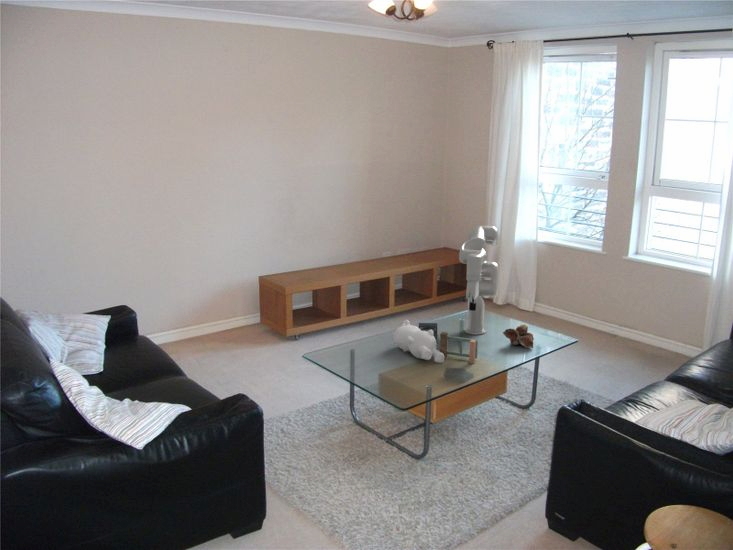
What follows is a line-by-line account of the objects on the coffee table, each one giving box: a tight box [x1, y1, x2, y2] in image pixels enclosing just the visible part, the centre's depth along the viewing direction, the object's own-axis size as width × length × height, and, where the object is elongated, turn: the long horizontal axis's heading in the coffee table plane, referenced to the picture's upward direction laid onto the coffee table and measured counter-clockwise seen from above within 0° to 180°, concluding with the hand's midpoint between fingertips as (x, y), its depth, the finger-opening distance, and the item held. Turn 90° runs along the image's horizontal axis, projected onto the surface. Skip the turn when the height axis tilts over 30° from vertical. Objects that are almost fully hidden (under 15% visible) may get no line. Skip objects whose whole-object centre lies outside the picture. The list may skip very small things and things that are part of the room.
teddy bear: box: [393, 319, 445, 364], centre depth 354 cm, size 19×18×35 cm
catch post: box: [468, 340, 476, 364], centre depth 343 cm, size 2×2×12 cm
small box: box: [418, 322, 438, 344], centre depth 373 cm, size 11×6×10 cm, turn 84°
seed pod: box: [502, 324, 535, 349], centre depth 368 cm, size 14×18×16 cm
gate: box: [447, 335, 479, 359], centre depth 349 cm, size 18×2×11 cm, turn 68°
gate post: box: [439, 331, 449, 360], centre depth 349 cm, size 3×3×14 cm
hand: (472, 309), depth 353 cm, fingers closed
